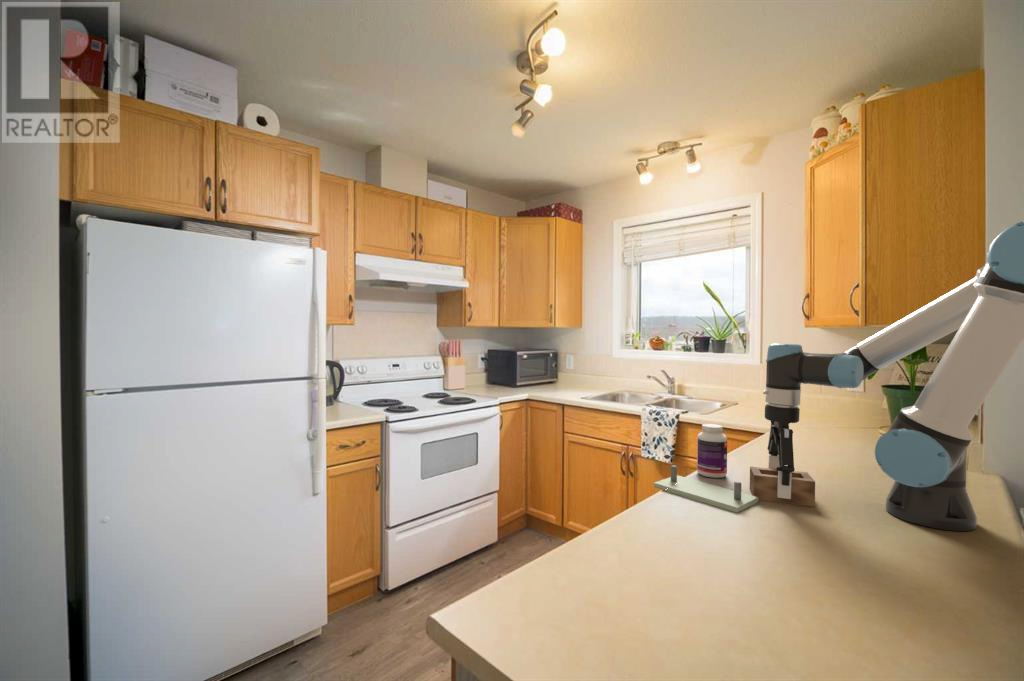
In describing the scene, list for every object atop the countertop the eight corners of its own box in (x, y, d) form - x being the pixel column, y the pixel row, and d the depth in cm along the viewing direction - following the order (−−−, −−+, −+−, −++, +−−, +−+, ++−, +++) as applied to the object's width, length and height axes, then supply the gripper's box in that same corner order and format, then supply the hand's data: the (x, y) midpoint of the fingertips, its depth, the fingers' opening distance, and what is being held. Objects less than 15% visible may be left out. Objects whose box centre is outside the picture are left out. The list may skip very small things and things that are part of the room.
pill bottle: (730, 480, 129) (731, 429, 129) (699, 478, 130) (700, 427, 130) (722, 471, 137) (723, 423, 136) (694, 470, 138) (695, 422, 138)
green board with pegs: (758, 502, 112) (758, 480, 112) (737, 512, 105) (737, 490, 105) (676, 479, 129) (676, 460, 129) (653, 487, 122) (654, 467, 122)
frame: (806, 495, 117) (807, 472, 117) (814, 506, 109) (815, 481, 109) (749, 489, 121) (750, 466, 121) (753, 499, 114) (754, 475, 114)
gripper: (758, 397, 128) (755, 472, 129) (773, 411, 105) (770, 503, 105) (789, 399, 125) (785, 476, 126) (812, 414, 102) (808, 509, 103)
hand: (778, 488), depth 116 cm, fingers open, 13 cm apart
